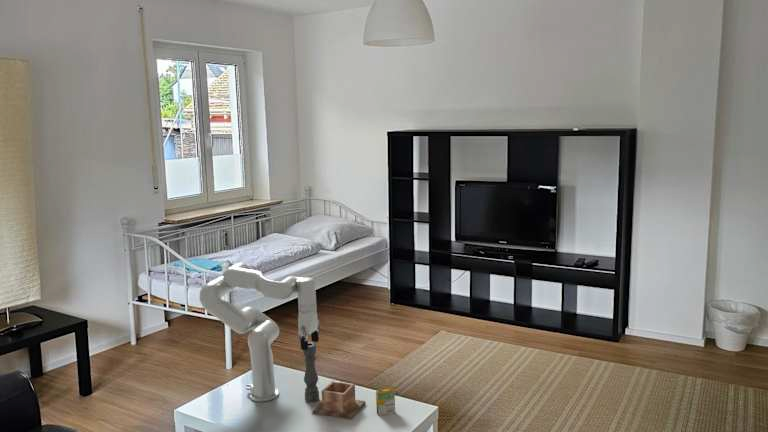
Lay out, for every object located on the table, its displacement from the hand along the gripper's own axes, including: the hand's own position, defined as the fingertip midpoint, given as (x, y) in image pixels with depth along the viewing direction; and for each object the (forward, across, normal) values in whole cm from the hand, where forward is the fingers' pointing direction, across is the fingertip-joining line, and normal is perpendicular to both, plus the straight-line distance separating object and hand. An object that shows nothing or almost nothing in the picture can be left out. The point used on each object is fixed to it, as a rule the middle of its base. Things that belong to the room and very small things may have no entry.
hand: (310, 345), depth 270 cm
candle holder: (+25, 0, 0) cm, 25 cm away
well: (+25, +5, +14) cm, 29 cm away
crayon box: (+25, +2, +34) cm, 43 cm away
